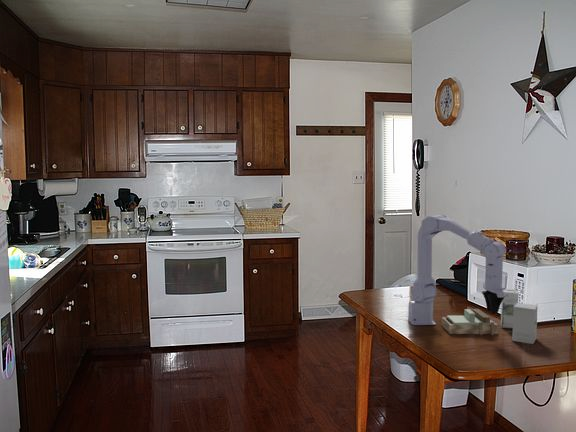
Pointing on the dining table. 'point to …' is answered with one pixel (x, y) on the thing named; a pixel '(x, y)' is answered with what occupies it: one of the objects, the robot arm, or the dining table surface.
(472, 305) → the dining table surface
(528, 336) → the supplement box
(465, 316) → the lid
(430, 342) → the dining table surface
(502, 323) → the syrup box
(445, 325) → the tan wooden frame
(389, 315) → the dining table surface
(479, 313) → the light brown wooden bar
